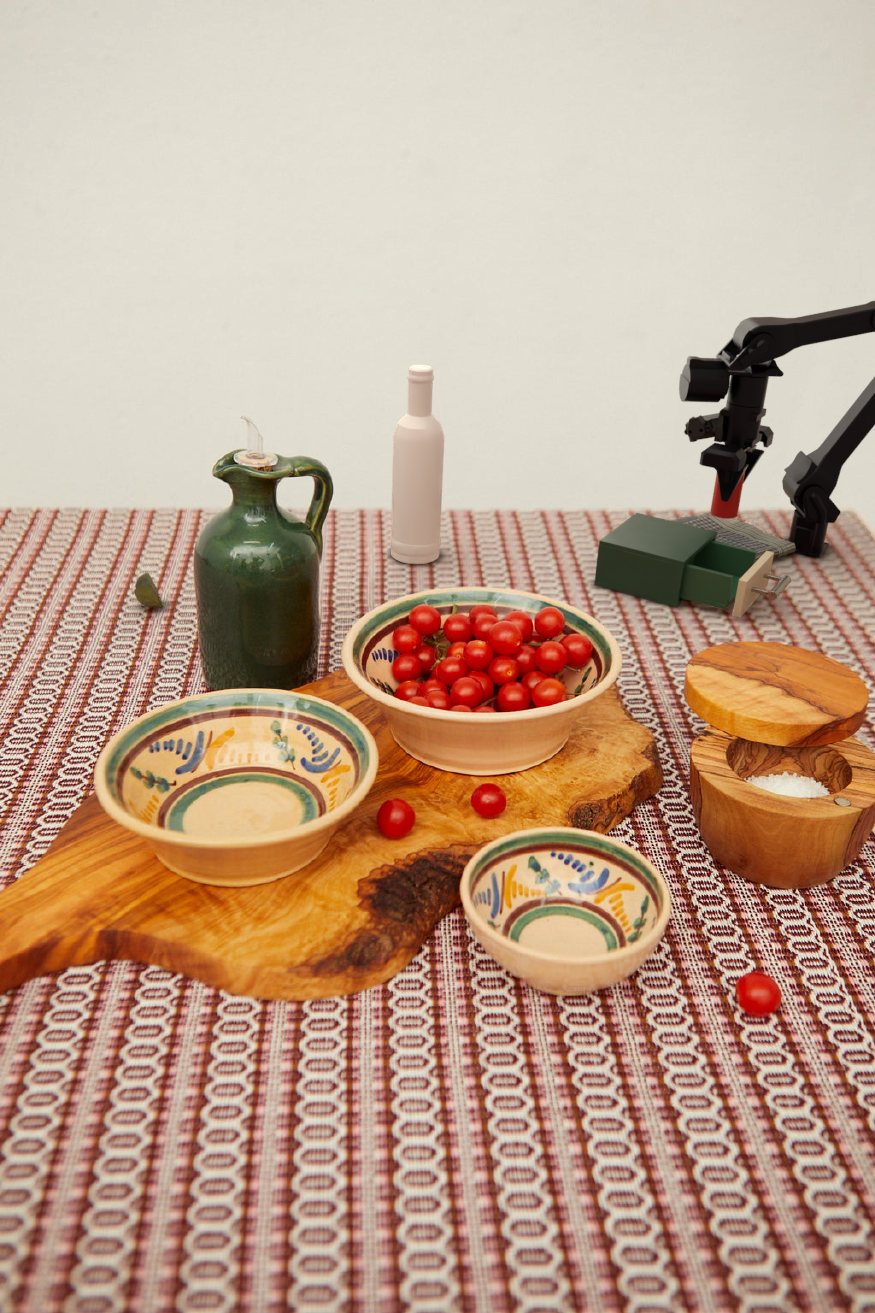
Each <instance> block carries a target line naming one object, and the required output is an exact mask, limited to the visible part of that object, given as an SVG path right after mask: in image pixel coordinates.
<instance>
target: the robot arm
mask: <svg viewBox="0 0 875 1313" xmlns="http://www.w3.org/2000/svg"><path fill="white" fill-rule="evenodd" d="M870 333H875V300H871V301H869V302H867V303H863V304H858V305H853V306H847V307H843V308H839V309H834V310H833V309H832V310H828V311H822V312H818V313H813V314H808V315H803V316H802V315H801V316H797V317H778V316H752V317H751V316H750V317H747V318H744V319H743V320H741V321H740V322H739V324H738V325H737V326H736V327H735V329H734V331H733V334H732V337H731V338H730V339H729V341H728V342H726V344H725V345H724V346H722V348H721V349H720V350H719V351H718V353H717V354H716V356H715V357H701V356H694V355H692V356H691V355H689V356H687V358H686V363H685V364H684V365H683V369H682V372H681V373H680V374H679V384H678V391H679V392H678V394H679V399H680V401H681V402H685V403H687V402H688V403H719V402H720V401H721V400H724V399H725V398H726V396H727V398H726V404H725V406H724V407H722V408H721V409H720V410H719V412H717V413H711V414H705V415H698V416H696V417H695V416H692V417H690V418H689V419H688V421H686V423H685V429H684V431H683V432H684V435H686V436H688V440H689V443H695V442H697V441H700V440H706V439H711V438H712V439H713V441H714V443H712V444H711V445H709V446H708V447H706V448H705V449H704V450H702V451H701V452H700V456H699V458H700V459H699V462H698V463H699V465H700V466H703V467H708V468H713V469H714V470H715V471H716V474H717V475H718V480H719V488H720V495H721V500H722V501H726V502H727V501H728V500H729V499H730V497H731V495H732V494H733V492H734V490H735V488H736V487H737V485H738V483H739V481H740V479H741V478H742V476H743V474H744V472H745V475H744V481H743V485H744V484H745V482H746V480H747V479H748V477H749V476H750V474H751V473H752V471H753V470H754V468H755V467H756V465H757V464H758V462H759V461H760V459H761V458H762V456H763V455H764V454H765V450H764V449H759V448H757V446H758V445H757V444H758V443H759V442H760V443H762V445H763V448H766V449H767V448H769V447H770V446H772V444H773V439H774V434H775V433H774V431H773V429H771V427H770V426H768V425H762V418H763V417H765V416H766V414H767V408H765V401H766V396H767V391H768V384H769V378H770V377H774V378H775V377H779V378H781V377H783V376H784V372H783V371H782V370H781V368H780V367H779V366H778V364H777V361H776V359H778V358H781V357H784V356H785V355H787V354H788V353H791V352H792V351H793V350H795V349H798V348H801V347H804V346H808V345H815V344H819V343H825V342H829V341H830V342H831V341H834V340H840V339H845V338H849V337H855V336H860V335H864V334H865V335H866V334H870ZM874 427H875V376H873V378H872V379H871V381H870V382H869V383H868V384H867V385H866V387H865V388H864V390H862V392H861V393H860V394H859V396H858V397H857V399H856V400H854V402H853V403H852V405H851V406H850V407H849V408H848V410H847V411H846V412H845V413H844V415H843V416H842V417H841V418H840V420H839V421H838V422H837V424H836V425H835V426H834V428H833V429H832V430H831V431H830V433H829V434H828V435H827V437H826V438H825V439H824V440H823V442H822V443H821V444H820V445H819V446H818V447H817V449H814V450H813V451H811V452H809V453H808V454H805V452H803V451H802V450H800V451H798V453H797V454H796V455H795V457H794V459H793V461H792V462H791V463H790V464H789V465H788V466H787V467H785V468H784V472H785V474H784V475H783V477H782V480H781V483H782V489H783V492H784V494H785V495H786V496H787V497H788V498H789V502H790V505H791V506H793V508H794V511H793V516H792V520H791V525H790V530H789V535H788V537H787V539H785V540H786V541H789V542H792V543H794V544H795V547H796V551H795V552H794V553H797V554H801V555H805V556H809V557H810V556H811V557H814V558H820V557H821V556H823V554H824V553H825V551H827V549H829V546H830V543H829V542H826V541H825V540H826V536H827V531H828V527H829V524H835V523H836V521H837V519H838V518H839V516H840V515H841V510H840V508H838V506H837V505H836V504H835V502H833V500H832V498H830V497H831V495H832V494H833V492H834V491H835V489H836V487H837V484H838V481H839V478H840V473H841V471H842V468H843V466H844V465H845V463H846V462H847V461H848V460H849V458H850V457H851V455H852V454H853V453H854V452H855V450H856V449H857V448H858V447H859V446H860V445H861V443H862V442H863V441H864V440H865V438H866V437H867V435H868V434H869V433H870V432H871V431H872V430H873V428H874Z"/></svg>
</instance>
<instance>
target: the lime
mask: <svg viewBox="0 0 875 1313" xmlns="http://www.w3.org/2000/svg"><path fill="white" fill-rule="evenodd" d="M133 593H134V596H135V598H136V600H137V601H138V603H139V604H140V605H142V606H144V607H148V608H151V609H159V608H162V607H164V603H163V601H162V598H161V596H160V594H159V591H158V589H157V585H156V584H155V582H154V580H153V578H152V576H151V574H150V573H149V572H145V573H143V574H141V575H140V576H139V577H138V578H137V579H136V582H135V588H134V590H133Z"/></svg>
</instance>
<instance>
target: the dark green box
mask: <svg viewBox="0 0 875 1313" xmlns="http://www.w3.org/2000/svg"><path fill="white" fill-rule="evenodd" d="M669 520H670V519H664V518H660V517H656V516H651V515H648V514H643V513H640V512H636V513H634V514H633V515H632V516H630V517H629V518H628V519H626V520H625V521H624V522H622V523H621V524H619V525H618V526H617V527H615V528H614V529H612V530H611V531H610V532H609V533H608V534H606V535H604V537H602V538H600V539H599V540H598V549H597V557H596V566H595V567H596V568H595V573H594V574H595V575H594V583H593V585H594V586H596V587H601V588H603V589H606V590H607V589H608V590H610V591H615V592H618V593H622V594H626V595H629V596H632V597H636V598H640V599H643V600H647V601H651V602H655V603H658V604H662V605H665V606H668V607H671V608H675V609H677V608H678V607H679V606H680V605H681V604H682V603H683V602H685V601H686V599H682V598H680V593H681V587H682V580H683V574H684V568H685V564H686V563H687V562H688V561H690V560H691V559H692V558H693V557H694V556H695V555H696V554H697V553H698V552H699V551H701V550H702V549H703V548H704V547H705V546H706V545H707V544H708V543H709V542H710V541H711V540H714V541H716V536H717V532H715V531H711V530H707V529H703V528H698V527H694V526H690V525H686V524H682V523H677V522H673V521H669Z"/></svg>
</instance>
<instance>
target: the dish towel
mask: <svg viewBox="0 0 875 1313" xmlns="http://www.w3.org/2000/svg"><path fill="white" fill-rule="evenodd" d="M668 520H669V521H673V522H677V523H682V524H686V525H690V526H694V527H698V528H703V529H707V530H711V531H715V532H717V536H716V541H718V542H722V543H726V544H730V545H734V546H739V547H743V548H747V549H751V550H755V551H757V555H756V560H755V562H756V561H757V560H758V559H759V558H760V557H761V556H762V555H763V554H764V553H765V552H766V551H770V552H774V556H773V560H774V559H777V558H780V557H783V556H786V555H789V554H792V553H796V552H795V551H796V547H795V544H794V543H792V542H789V541H786V540H787V539H782V538H781V537H777V536H775V535H773V534H771V533H768V532H765V531H764V530H762V529H759V528H758V527H756V526H754V525H752V524H750V523H748V522H744V521H742V520H740V519H738V518H736V517H735V518H730V519H725V518H719V517H716V516H713V515H712V514H711V513H710V511H708V512H704V513H702V514H698V515H690V516H683V517H680V518H679V517H678V518H675V519H668Z"/></svg>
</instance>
